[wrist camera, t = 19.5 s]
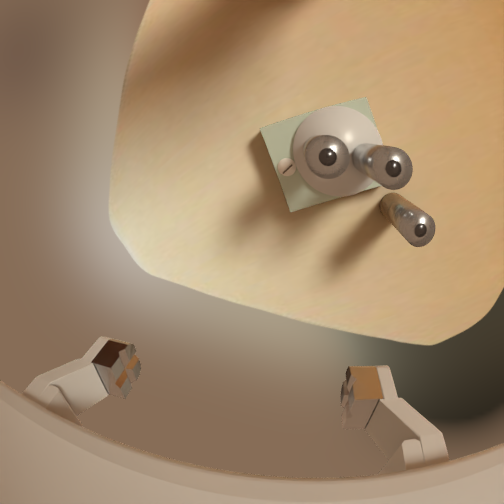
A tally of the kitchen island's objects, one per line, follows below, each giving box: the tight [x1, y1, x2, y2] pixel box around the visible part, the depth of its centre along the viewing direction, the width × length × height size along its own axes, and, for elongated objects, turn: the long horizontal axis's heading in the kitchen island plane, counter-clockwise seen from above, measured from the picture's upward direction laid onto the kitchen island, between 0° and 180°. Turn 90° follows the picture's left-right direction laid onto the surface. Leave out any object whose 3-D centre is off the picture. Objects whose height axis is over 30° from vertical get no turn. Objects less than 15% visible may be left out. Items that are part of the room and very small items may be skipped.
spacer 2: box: [352, 143, 412, 190], centre depth 31 cm, size 4×4×12 cm
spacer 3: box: [380, 193, 435, 247], centre depth 37 cm, size 4×4×12 cm
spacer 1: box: [303, 135, 350, 179], centre depth 32 cm, size 4×4×12 cm
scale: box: [260, 97, 383, 212], centre depth 39 cm, size 13×16×4 cm
